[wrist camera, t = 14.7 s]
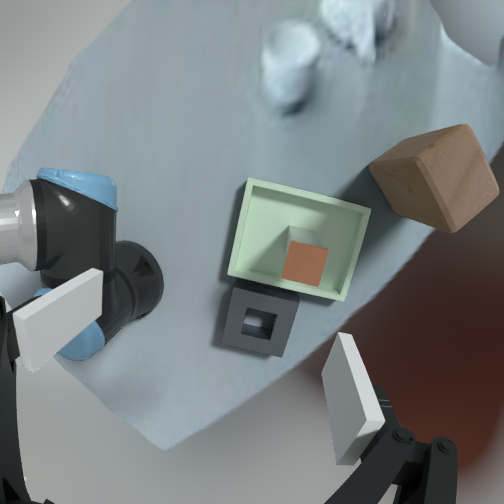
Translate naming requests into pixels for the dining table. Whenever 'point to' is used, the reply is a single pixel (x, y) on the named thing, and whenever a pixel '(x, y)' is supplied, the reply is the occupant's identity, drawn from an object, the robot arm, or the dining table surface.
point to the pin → (303, 257)
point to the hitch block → (262, 300)
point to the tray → (304, 216)
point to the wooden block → (437, 178)
